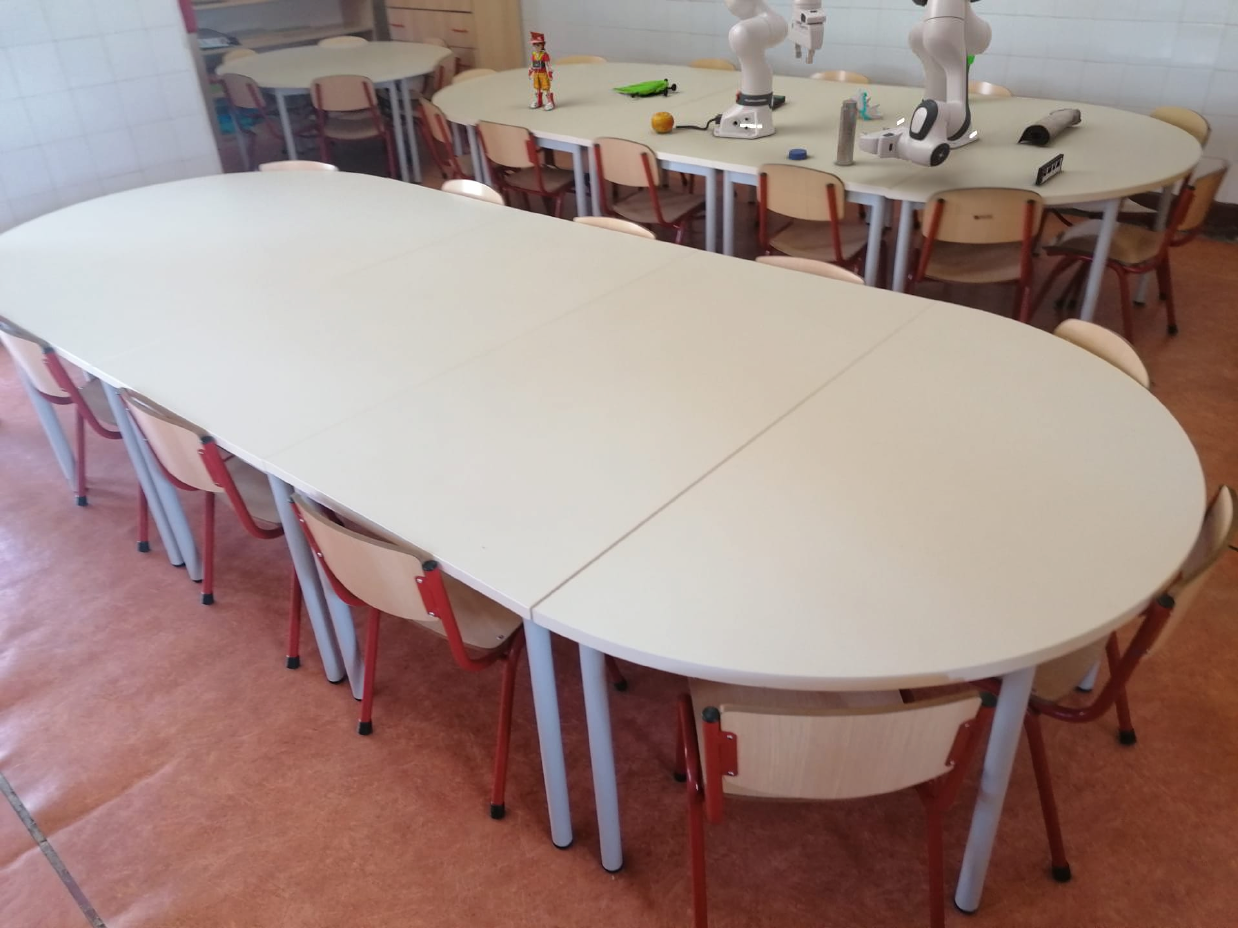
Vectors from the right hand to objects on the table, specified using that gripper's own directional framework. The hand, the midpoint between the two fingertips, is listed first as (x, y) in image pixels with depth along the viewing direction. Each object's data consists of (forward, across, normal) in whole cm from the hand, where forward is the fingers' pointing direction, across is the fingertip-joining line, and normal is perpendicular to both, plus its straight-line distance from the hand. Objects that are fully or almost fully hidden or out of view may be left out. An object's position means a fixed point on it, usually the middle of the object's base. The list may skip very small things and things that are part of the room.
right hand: (872, 132), depth 282 cm
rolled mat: (-6, -75, +13) cm, 76 cm away
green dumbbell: (+48, -84, +14) cm, 98 cm away
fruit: (+84, +29, +13) cm, 89 cm away
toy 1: (+150, +50, +13) cm, 159 cm away
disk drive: (+90, -24, +13) cm, 95 cm away
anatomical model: (+54, -44, +13) cm, 71 cm away
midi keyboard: (-38, -38, +12) cm, 55 cm away
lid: (+26, +9, +11) cm, 29 cm away
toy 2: (+147, +3, +14) cm, 147 cm away
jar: (+11, +1, +12) cm, 17 cm away
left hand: (+26, +8, -18) cm, 33 cm away
